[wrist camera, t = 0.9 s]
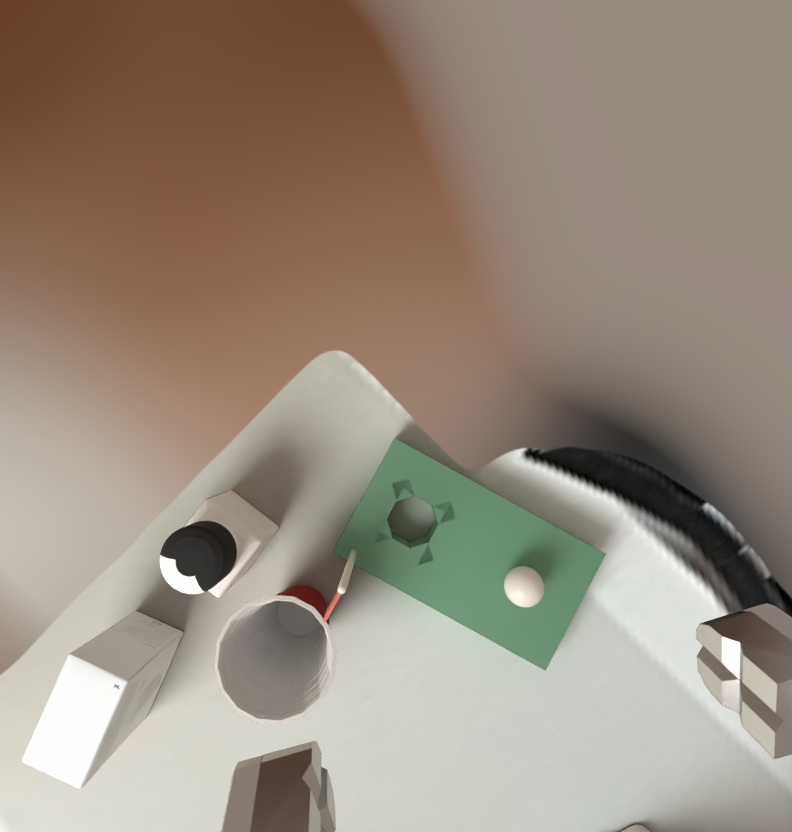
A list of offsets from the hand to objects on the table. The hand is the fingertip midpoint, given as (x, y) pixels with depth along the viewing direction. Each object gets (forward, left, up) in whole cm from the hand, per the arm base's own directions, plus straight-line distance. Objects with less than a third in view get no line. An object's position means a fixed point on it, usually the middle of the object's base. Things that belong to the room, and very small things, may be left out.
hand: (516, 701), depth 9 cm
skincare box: (+17, +32, -43) cm, 57 cm away
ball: (-15, +3, -38) cm, 41 cm away
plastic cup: (+4, +18, -43) cm, 47 cm away
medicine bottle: (+15, +15, -43) cm, 48 cm away
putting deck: (-9, +3, -43) cm, 44 cm away
